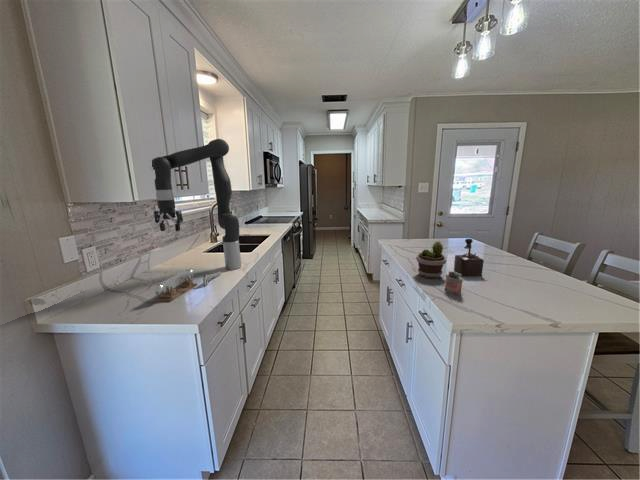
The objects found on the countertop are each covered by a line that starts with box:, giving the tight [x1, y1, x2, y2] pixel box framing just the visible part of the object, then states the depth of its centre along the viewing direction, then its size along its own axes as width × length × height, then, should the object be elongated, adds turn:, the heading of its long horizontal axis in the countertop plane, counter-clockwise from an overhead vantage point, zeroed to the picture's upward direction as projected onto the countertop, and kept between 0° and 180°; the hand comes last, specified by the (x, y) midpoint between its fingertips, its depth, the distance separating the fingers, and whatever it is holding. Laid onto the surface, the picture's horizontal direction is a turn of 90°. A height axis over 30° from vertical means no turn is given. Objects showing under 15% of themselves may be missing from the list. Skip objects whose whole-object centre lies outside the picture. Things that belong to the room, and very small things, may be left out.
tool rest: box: [153, 276, 198, 303], centre depth 122 cm, size 19×8×6 cm, turn 170°
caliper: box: [202, 271, 223, 287], centre depth 138 cm, size 20×1×6 cm, turn 178°
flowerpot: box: [415, 239, 447, 280], centre depth 136 cm, size 14×15×20 cm
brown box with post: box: [453, 238, 485, 278], centre depth 141 cm, size 16×11×18 cm
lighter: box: [443, 270, 464, 297], centre depth 115 cm, size 8×3×10 cm, turn 23°
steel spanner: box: [154, 268, 194, 296], centre depth 121 cm, size 23×3×4 cm, turn 170°
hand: (170, 230), depth 130 cm, fingers open, 8 cm apart
